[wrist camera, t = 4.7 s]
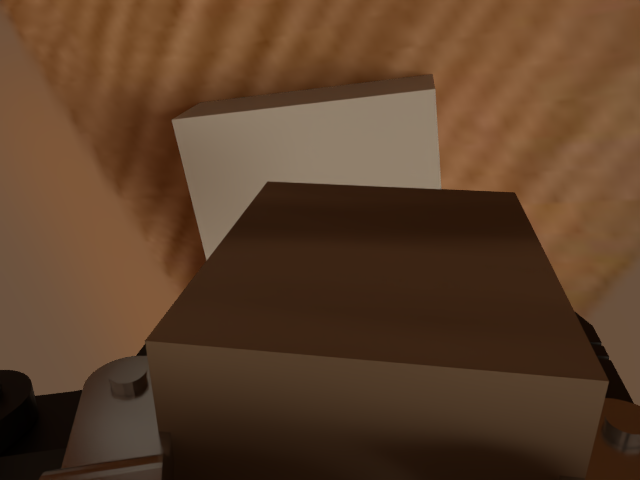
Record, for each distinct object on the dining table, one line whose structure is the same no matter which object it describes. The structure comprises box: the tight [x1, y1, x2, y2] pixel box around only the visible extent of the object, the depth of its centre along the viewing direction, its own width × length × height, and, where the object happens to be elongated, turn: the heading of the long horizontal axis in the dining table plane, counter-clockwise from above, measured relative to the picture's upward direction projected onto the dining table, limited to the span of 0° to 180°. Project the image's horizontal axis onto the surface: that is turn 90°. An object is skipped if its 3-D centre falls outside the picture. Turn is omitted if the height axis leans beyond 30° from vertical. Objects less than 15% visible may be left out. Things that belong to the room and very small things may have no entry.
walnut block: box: [145, 181, 609, 480], centre depth 10 cm, size 5×5×6 cm
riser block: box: [172, 74, 441, 261], centre depth 27 cm, size 11×11×4 cm
